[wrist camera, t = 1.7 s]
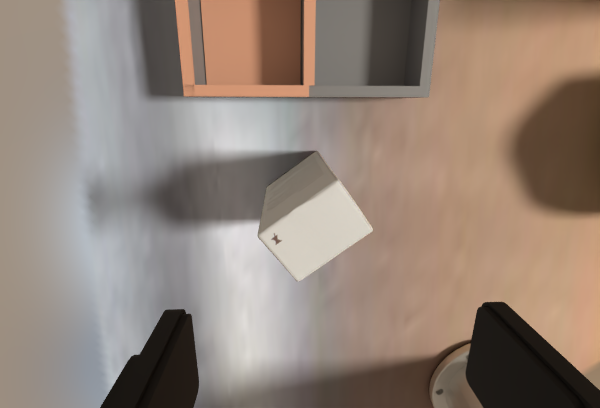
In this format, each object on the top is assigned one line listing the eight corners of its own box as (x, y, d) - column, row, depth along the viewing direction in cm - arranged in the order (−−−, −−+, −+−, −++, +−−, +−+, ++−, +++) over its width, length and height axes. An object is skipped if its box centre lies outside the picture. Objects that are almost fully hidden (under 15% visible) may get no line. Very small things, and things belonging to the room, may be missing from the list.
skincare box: (292, 220, 32) (295, 285, 21) (265, 186, 31) (253, 236, 20) (344, 184, 32) (376, 232, 20) (318, 148, 30) (337, 176, 19)
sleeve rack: (422, -36, 26) (448, -63, 22) (409, 97, 29) (430, 97, 25) (188, -41, 26) (168, -69, 21) (199, 96, 29) (183, 96, 24)
